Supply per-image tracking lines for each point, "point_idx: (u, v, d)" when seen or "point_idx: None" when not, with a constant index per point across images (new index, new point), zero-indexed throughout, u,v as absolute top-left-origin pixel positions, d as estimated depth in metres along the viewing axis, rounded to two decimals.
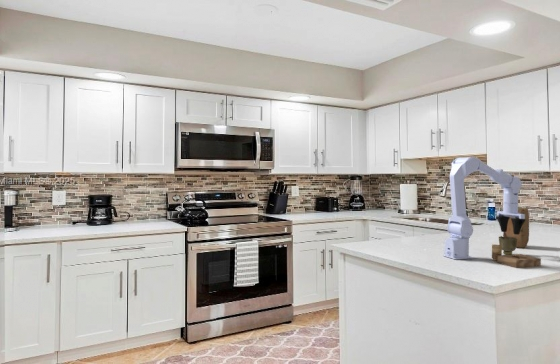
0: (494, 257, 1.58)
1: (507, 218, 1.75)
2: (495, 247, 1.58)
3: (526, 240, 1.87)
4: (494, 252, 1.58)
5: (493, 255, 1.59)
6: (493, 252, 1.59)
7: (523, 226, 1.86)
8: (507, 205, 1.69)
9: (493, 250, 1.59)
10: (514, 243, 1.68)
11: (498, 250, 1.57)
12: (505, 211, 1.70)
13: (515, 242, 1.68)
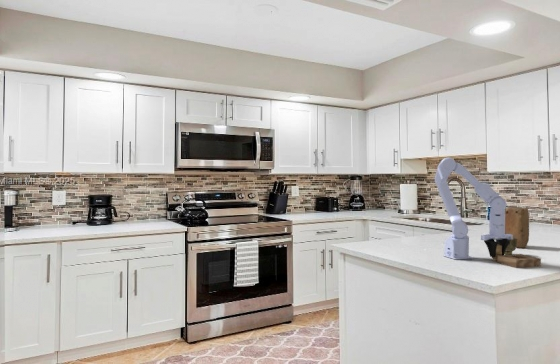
0: (494, 257, 1.58)
1: (503, 242, 1.58)
2: None
3: (526, 240, 1.87)
4: None
5: None
6: None
7: (523, 226, 1.86)
8: None
9: None
10: (514, 243, 1.68)
11: (498, 250, 1.57)
12: None
13: (515, 242, 1.68)
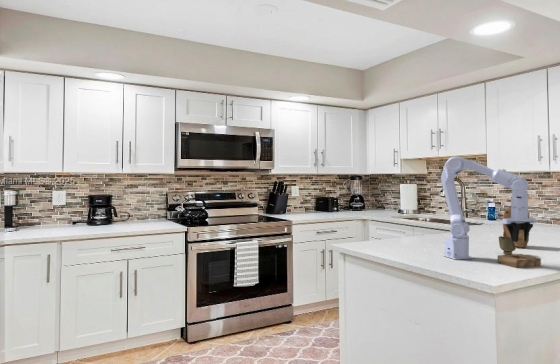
0: (517, 242, 1.51)
1: (526, 226, 1.51)
2: None
3: (526, 240, 1.87)
4: None
5: None
6: None
7: None
8: None
9: None
10: (514, 243, 1.68)
11: (521, 235, 1.50)
12: None
13: None
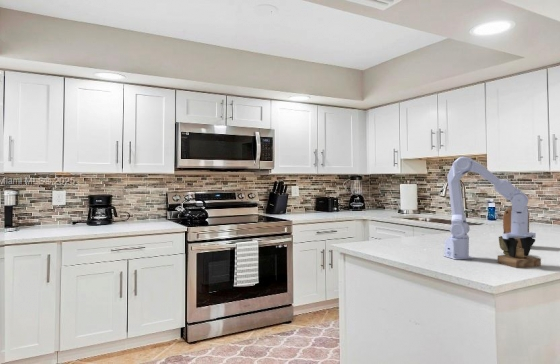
0: None
1: (528, 241, 1.51)
2: (517, 250, 1.51)
3: None
4: (516, 256, 1.51)
5: None
6: (515, 256, 1.52)
7: None
8: None
9: None
10: None
11: (521, 253, 1.51)
12: None
13: None
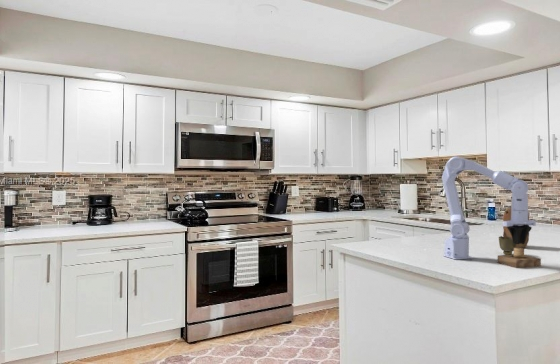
0: None
1: (525, 228, 1.51)
2: (517, 250, 1.51)
3: (526, 240, 1.87)
4: (516, 256, 1.51)
5: None
6: (515, 256, 1.52)
7: None
8: None
9: (515, 254, 1.52)
10: None
11: (521, 253, 1.51)
12: None
13: None
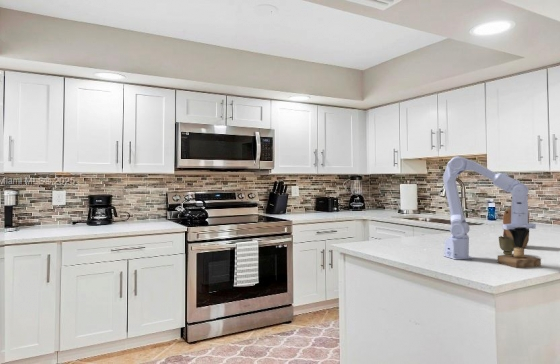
0: None
1: None
2: (517, 250, 1.51)
3: (526, 240, 1.87)
4: (516, 256, 1.51)
5: None
6: (515, 256, 1.52)
7: None
8: None
9: (515, 254, 1.52)
10: (514, 243, 1.68)
11: (521, 253, 1.51)
12: None
13: None
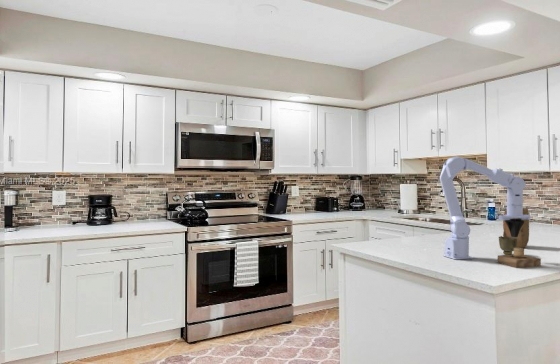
0: None
1: None
2: (517, 250, 1.51)
3: (526, 240, 1.87)
4: (516, 256, 1.51)
5: None
6: (515, 256, 1.52)
7: (523, 226, 1.86)
8: None
9: (515, 253, 1.52)
10: (514, 243, 1.68)
11: (521, 253, 1.51)
12: None
13: (515, 242, 1.68)
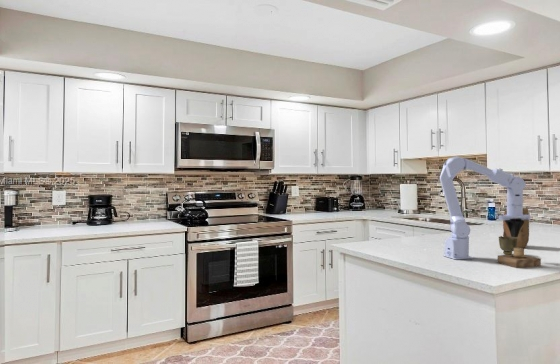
0: None
1: None
2: (517, 250, 1.51)
3: (526, 240, 1.87)
4: (516, 256, 1.51)
5: None
6: (515, 256, 1.52)
7: (523, 226, 1.86)
8: None
9: (515, 253, 1.52)
10: (514, 243, 1.68)
11: (521, 253, 1.51)
12: None
13: (515, 242, 1.68)
